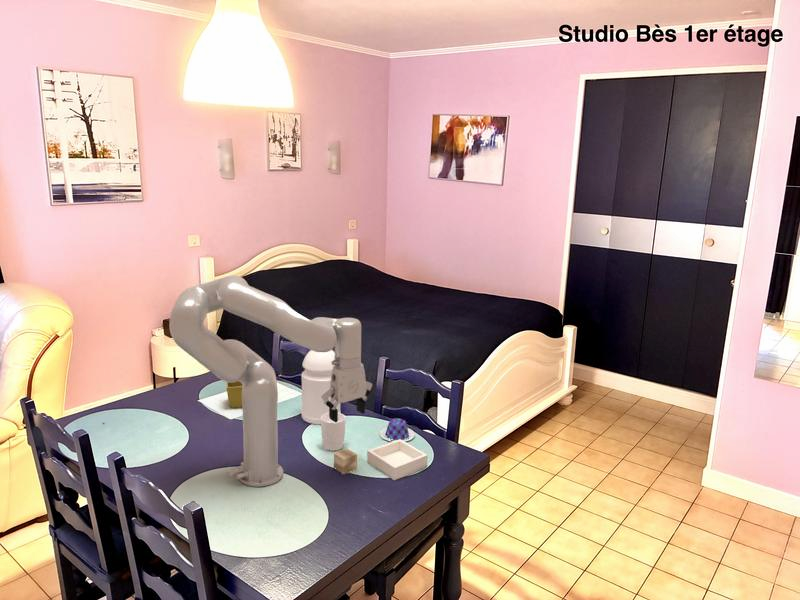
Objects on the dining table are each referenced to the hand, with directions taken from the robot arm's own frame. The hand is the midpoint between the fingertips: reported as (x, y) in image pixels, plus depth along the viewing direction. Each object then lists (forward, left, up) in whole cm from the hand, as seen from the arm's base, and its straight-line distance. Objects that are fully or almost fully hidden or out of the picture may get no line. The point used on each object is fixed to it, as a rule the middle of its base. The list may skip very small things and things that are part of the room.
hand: (347, 416), depth 174 cm
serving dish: (+14, -7, -17) cm, 23 cm away
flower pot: (-5, +61, -17) cm, 64 cm away
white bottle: (+14, +35, -17) cm, 41 cm away
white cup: (+5, +14, -17) cm, 23 cm away
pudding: (+27, +8, -17) cm, 33 cm away
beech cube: (0, 0, -17) cm, 17 cm away
